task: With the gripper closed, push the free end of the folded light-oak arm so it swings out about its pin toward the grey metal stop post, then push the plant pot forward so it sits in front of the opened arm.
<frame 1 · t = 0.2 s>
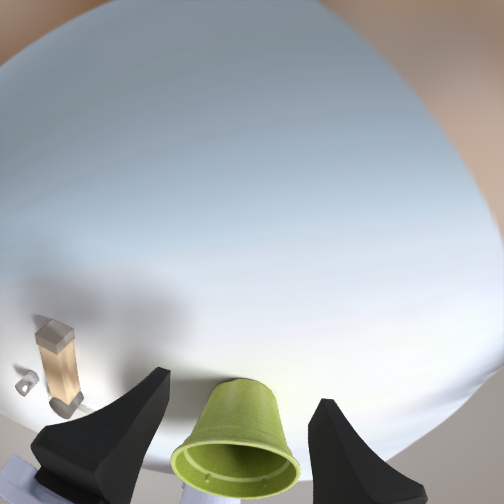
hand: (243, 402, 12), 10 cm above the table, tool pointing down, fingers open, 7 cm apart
stop post: (34, 375, 27), on the table
mounting plate: (77, 411, 27), on the table
plant pot: (243, 399, 25), on the table
oak arm: (60, 375, 23), point 2 cm above the table, hinge at 0.0°
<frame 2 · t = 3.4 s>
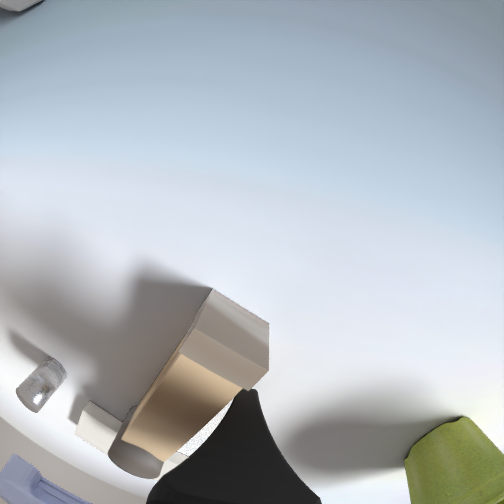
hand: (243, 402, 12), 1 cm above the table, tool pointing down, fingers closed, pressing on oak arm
stop post: (55, 369, 14), on the table
mounting plate: (133, 444, 15), on the table
plant pot: (438, 440, 15), on the table
oak arm: (171, 409, 12), point 2 cm above the table, hinge at 0.0°, touching gripper
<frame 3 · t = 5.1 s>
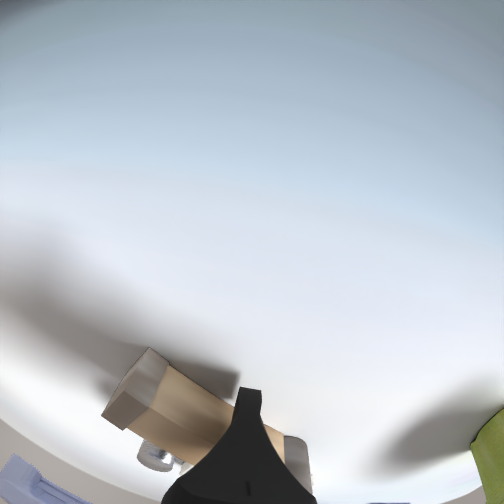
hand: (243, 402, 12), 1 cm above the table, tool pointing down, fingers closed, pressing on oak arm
stop post: (170, 416, 14), on the table
plant pot: (494, 424, 15), on the table
oak arm: (222, 445, 12), point 2 cm above the table, hinge at 82.2°, touching gripper, stop post
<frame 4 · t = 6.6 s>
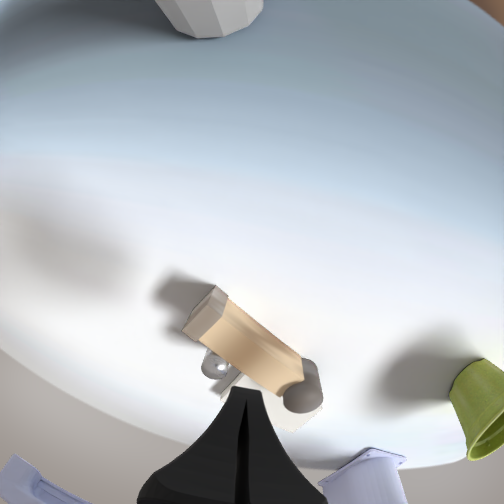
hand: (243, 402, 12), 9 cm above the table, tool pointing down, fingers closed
stop post: (221, 343, 22), on the table
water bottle: (229, 4, 15), on the table
mounting plate: (272, 399, 24), on the table
plant pot: (469, 378, 23), on the table
oak arm: (261, 357, 20), point 2 cm above the table, hinge at 82.0°
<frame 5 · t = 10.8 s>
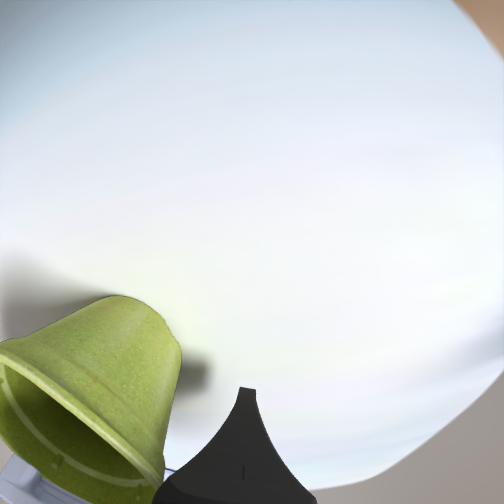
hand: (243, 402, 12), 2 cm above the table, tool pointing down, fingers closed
plant pot: (133, 341, 15), on the table, touching gripper
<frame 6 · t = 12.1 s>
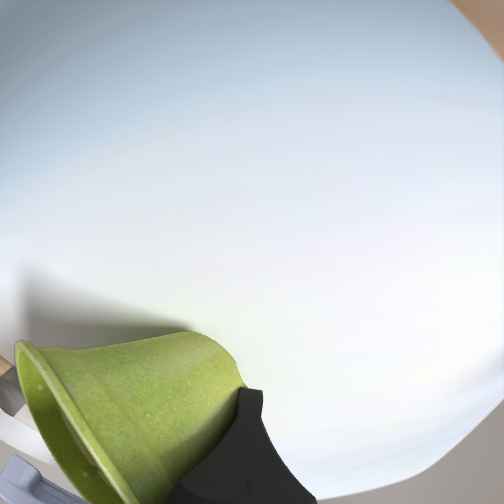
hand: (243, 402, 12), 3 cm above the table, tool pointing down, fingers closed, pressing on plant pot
mounting plate: (33, 410, 18), on the table
plant pot: (206, 380, 14), point 1 cm above the table, touching gripper
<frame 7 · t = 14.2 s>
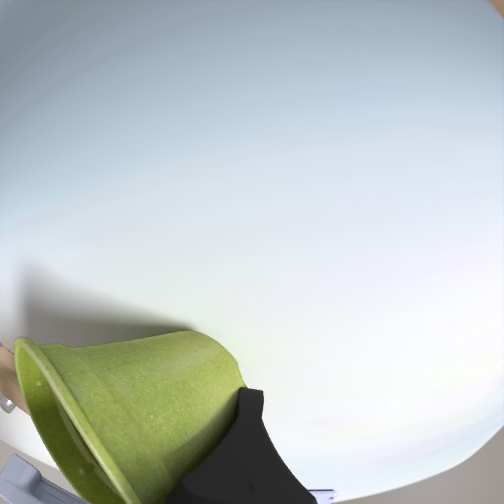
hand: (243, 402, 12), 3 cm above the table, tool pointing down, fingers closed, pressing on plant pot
stop post: (23, 384, 18), on the table
plant pot: (206, 380, 14), point 1 cm above the table, touching gripper
oak arm: (27, 392, 15), point 2 cm above the table, hinge at 82.0°
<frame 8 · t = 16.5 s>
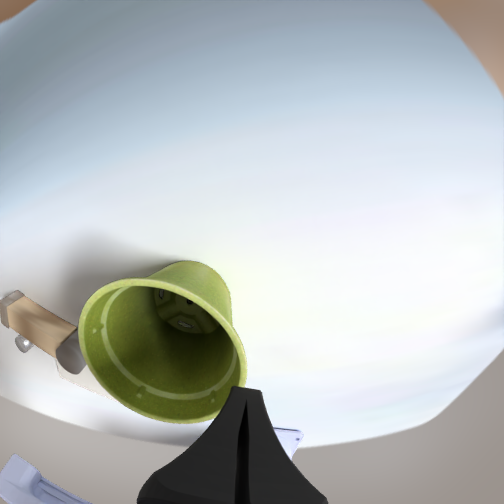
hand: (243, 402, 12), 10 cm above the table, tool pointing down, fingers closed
stop post: (39, 329, 24), on the table
mounting plate: (90, 371, 25), on the table
plant pot: (192, 296, 22), on the table
oak arm: (44, 331, 22), point 2 cm above the table, hinge at 82.0°
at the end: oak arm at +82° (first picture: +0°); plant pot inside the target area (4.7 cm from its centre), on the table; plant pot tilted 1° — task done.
